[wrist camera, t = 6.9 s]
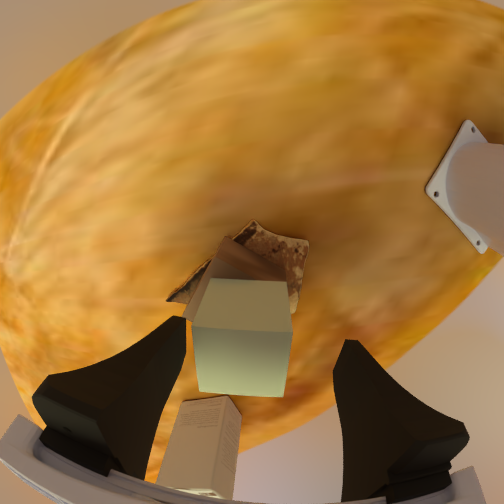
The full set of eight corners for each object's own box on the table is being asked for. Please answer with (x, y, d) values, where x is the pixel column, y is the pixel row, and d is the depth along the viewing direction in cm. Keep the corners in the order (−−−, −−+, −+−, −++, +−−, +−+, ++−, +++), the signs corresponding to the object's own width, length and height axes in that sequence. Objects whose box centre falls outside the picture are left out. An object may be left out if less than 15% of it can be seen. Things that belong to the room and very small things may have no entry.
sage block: (286, 281, 17) (292, 332, 12) (280, 341, 18) (283, 397, 14) (210, 277, 17) (191, 325, 12) (213, 337, 19) (199, 391, 14)
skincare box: (198, 420, 30) (177, 503, 18) (180, 398, 28) (150, 487, 17) (245, 414, 29) (234, 507, 17) (229, 391, 27) (210, 492, 16)
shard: (170, 293, 24) (164, 303, 23) (170, 207, 21) (161, 213, 20) (294, 308, 24) (295, 320, 22) (309, 223, 21) (313, 230, 20)
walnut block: (285, 270, 21) (288, 297, 17) (250, 318, 22) (247, 349, 19) (225, 236, 20) (215, 256, 16) (195, 288, 22) (181, 316, 18)
